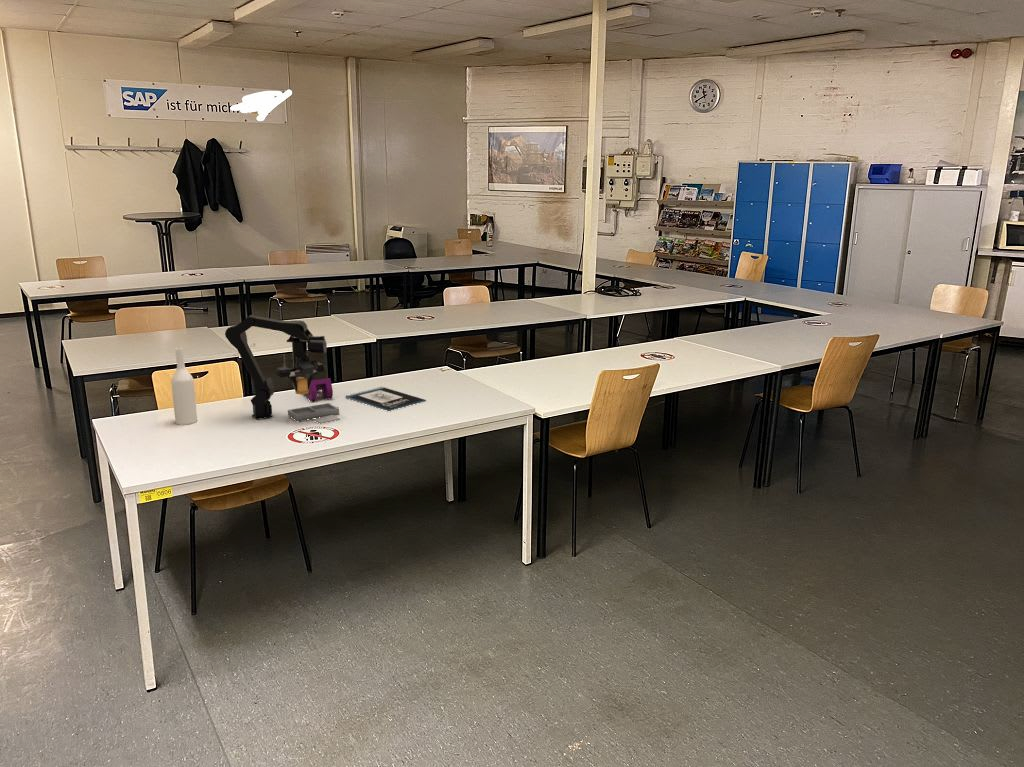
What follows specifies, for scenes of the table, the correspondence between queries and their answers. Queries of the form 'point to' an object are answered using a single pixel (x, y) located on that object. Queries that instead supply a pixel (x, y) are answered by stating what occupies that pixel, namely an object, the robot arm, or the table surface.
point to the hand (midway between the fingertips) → (302, 390)
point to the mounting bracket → (320, 385)
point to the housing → (313, 412)
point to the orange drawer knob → (302, 385)
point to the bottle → (183, 393)
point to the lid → (326, 419)
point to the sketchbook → (385, 398)
